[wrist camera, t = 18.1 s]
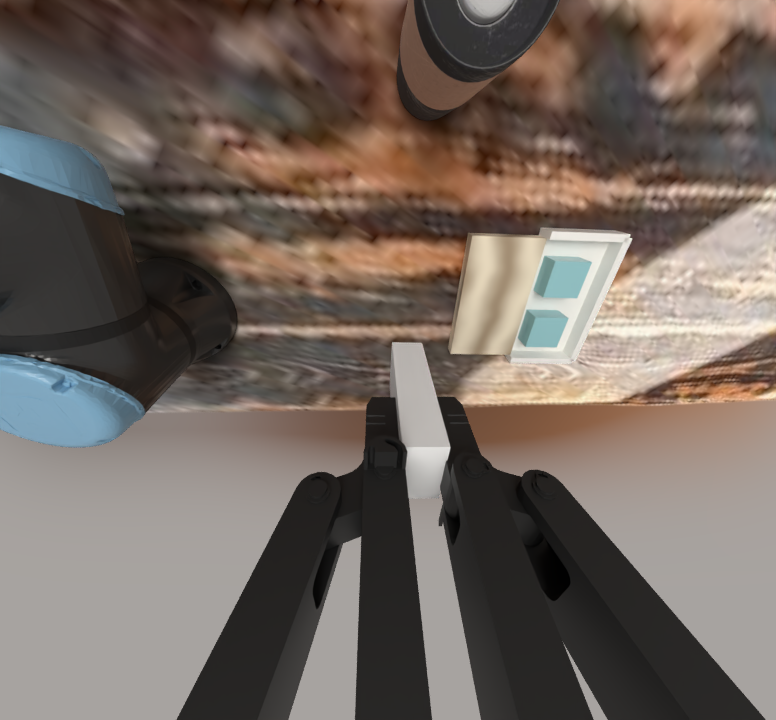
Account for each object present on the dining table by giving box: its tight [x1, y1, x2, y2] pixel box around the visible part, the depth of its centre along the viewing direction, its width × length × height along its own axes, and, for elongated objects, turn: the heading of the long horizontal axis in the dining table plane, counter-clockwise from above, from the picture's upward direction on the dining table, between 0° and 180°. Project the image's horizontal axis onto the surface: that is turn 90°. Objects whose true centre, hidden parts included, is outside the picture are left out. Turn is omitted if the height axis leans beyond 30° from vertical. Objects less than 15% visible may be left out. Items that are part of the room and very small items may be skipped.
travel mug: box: [397, 0, 560, 121], centre depth 22 cm, size 8×8×20 cm
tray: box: [505, 228, 632, 364], centre depth 44 cm, size 11×20×3 cm, turn 178°
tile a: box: [534, 256, 592, 298], centre depth 41 cm, size 5×5×3 cm
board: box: [448, 233, 547, 355], centre depth 44 cm, size 10×18×2 cm, turn 178°
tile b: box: [518, 309, 569, 347], centre depth 45 cm, size 5×5×3 cm
